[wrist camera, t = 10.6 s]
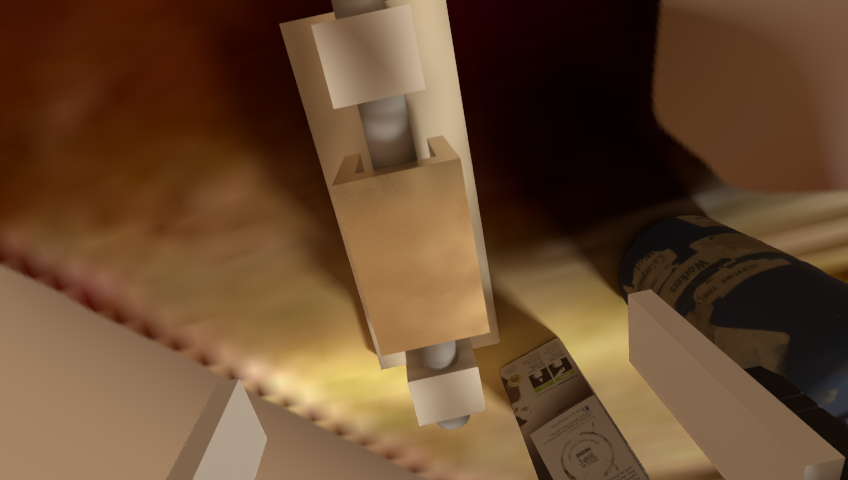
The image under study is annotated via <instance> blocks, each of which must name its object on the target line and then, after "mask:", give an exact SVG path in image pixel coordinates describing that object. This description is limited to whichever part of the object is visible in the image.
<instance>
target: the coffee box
mask: <svg viewBox="0 0 848 480" xmlns="http://www.w3.org/2000/svg"><path fill="white" fill-rule="evenodd" d="M499 373H500V376H501V379H502V381H503V384H504V387H505V390H506V392H507V395H508V398H509V400H510V403H511V406H512V409H513V411H514V414H515V417H516V420H517V422H518V425H519V427H520V430H521V433H522V435H523V438H524V441H525V443H526V446H527V449H528V452H529V454H530V457H531V460H532V463H533V465H534V468H535V471H536V474H537V476H538V479H539V480H651V478H650V477H649V475H648V474H647V472H646V471H645V469H644V467H643V466H642V464H641V463H640V461H639V460H638V458H637V457H636V455H635V454H634V452H633V450H632V449H631V447H630V446H629V444H628V443H627V441H626V440H625V438H624V437H623V435H622V434H621V432H620V430H619V429H618V427H617V426H616V424H615V423H614V421H613V420H612V418H611V416H610V415H609V413H608V412H607V410H606V409H605V407H604V406H603V404H602V403H601V401H600V400H599V398H598V397H597V395H596V393H595V392H594V390H593V389H592V387H591V386H590V384H589V383H588V381H587V380H586V378H585V377H584V375H583V374H582V372H581V371H580V369H579V368H578V366H577V365H576V363H575V361H574V360H573V358H572V357H571V355H570V354H569V352H568V351H567V349H566V348H565V346H564V344H563V343H562V341H561V340H560V339H559V338H555V339H553V340H551V341H550V342H548V343H546V344H544V345H542V346H541V347H539V348H537V349H535V350H533V351H531V352H529V353H528V354H526V355H524V356H522V357H520V358H518V359H517V360H515V361H513V362H511V363H509V364H508V365H506V366H504V367H502V368H501V369H500V370H499Z"/></svg>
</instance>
